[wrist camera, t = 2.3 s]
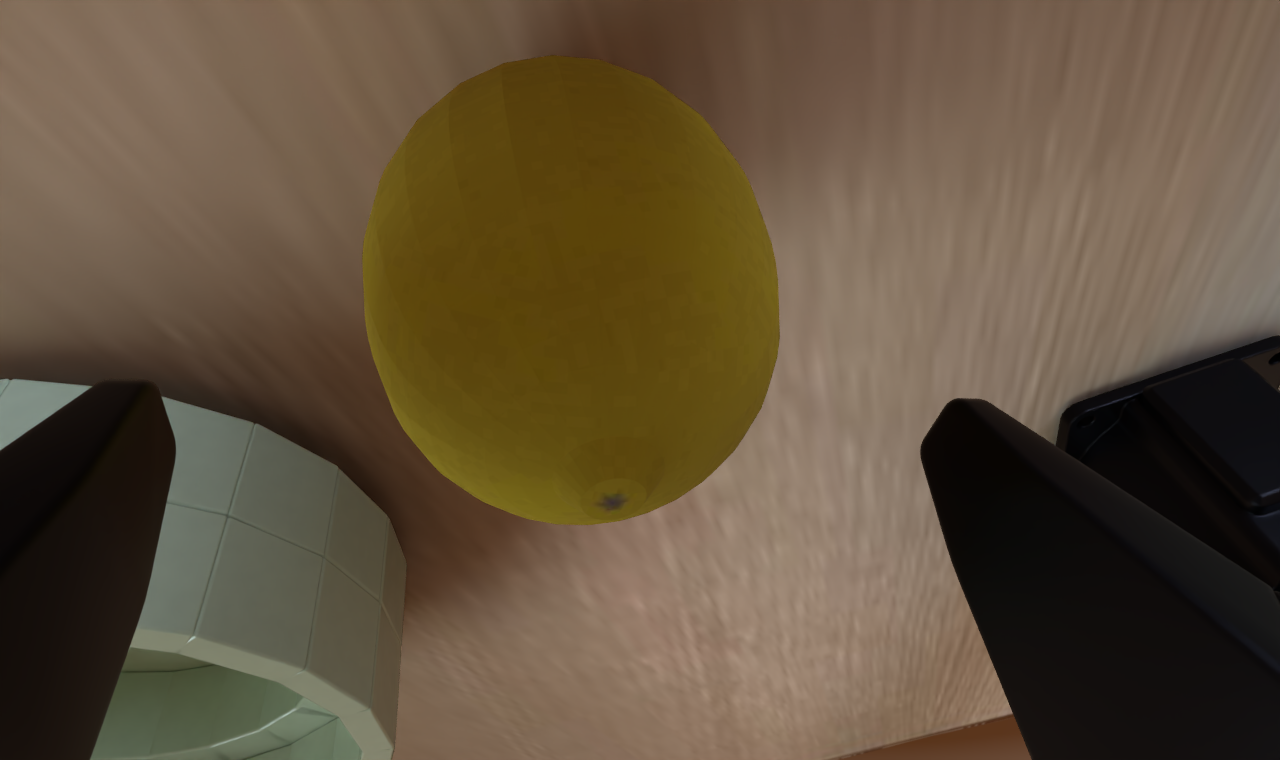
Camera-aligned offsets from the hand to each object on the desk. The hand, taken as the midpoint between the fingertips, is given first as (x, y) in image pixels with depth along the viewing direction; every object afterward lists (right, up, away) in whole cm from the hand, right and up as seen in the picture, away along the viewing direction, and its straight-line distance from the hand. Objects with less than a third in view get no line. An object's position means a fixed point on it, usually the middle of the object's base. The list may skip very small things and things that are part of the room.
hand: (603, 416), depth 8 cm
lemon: (-1, +5, +5) cm, 7 cm away
